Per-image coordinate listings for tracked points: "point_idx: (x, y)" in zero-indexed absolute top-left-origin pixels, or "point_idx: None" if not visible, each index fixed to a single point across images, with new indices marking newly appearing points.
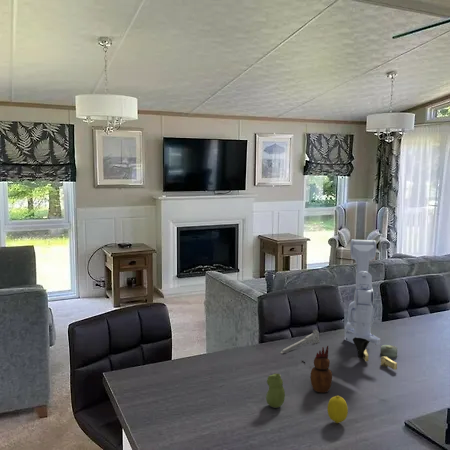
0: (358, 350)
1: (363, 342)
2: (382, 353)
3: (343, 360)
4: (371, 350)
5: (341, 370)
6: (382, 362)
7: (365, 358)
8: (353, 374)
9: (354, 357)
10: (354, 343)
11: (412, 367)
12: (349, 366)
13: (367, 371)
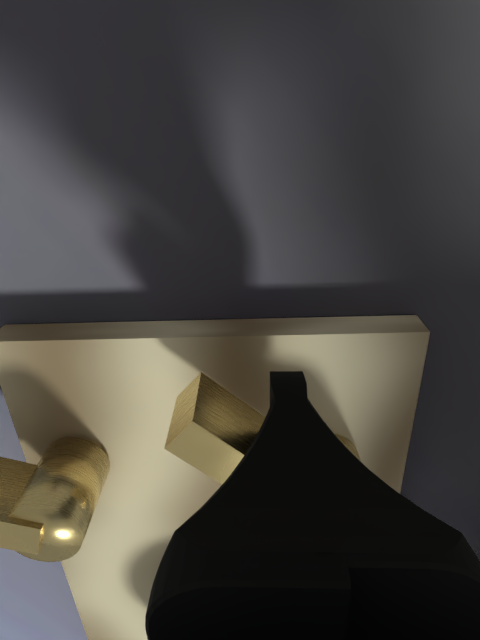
0: (291, 425)
1: (150, 604)
2: None
3: (471, 293)
4: None
5: (314, 16)
6: (53, 467)
7: (195, 395)
8: (136, 62)
9: (425, 430)
10: (398, 495)
11: (28, 588)
12: (326, 220)
13: (123, 281)
